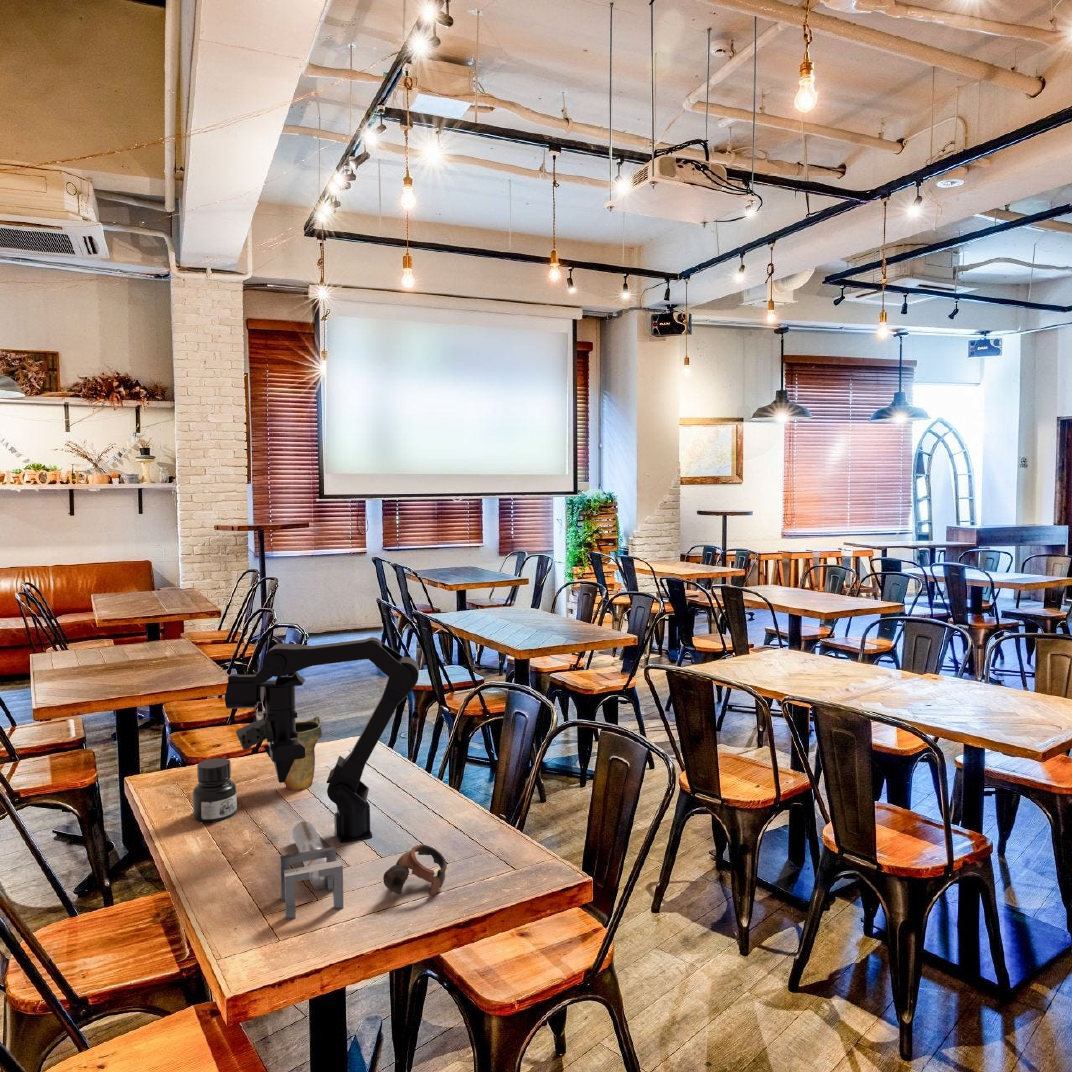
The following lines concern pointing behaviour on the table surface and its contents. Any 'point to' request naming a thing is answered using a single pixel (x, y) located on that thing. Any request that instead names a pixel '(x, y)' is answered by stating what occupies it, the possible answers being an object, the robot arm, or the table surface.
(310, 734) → the pot
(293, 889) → the arch block
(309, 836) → the air tube
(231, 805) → the ink bottle
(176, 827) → the table surface
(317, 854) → the arch block
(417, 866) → the brown headphones
